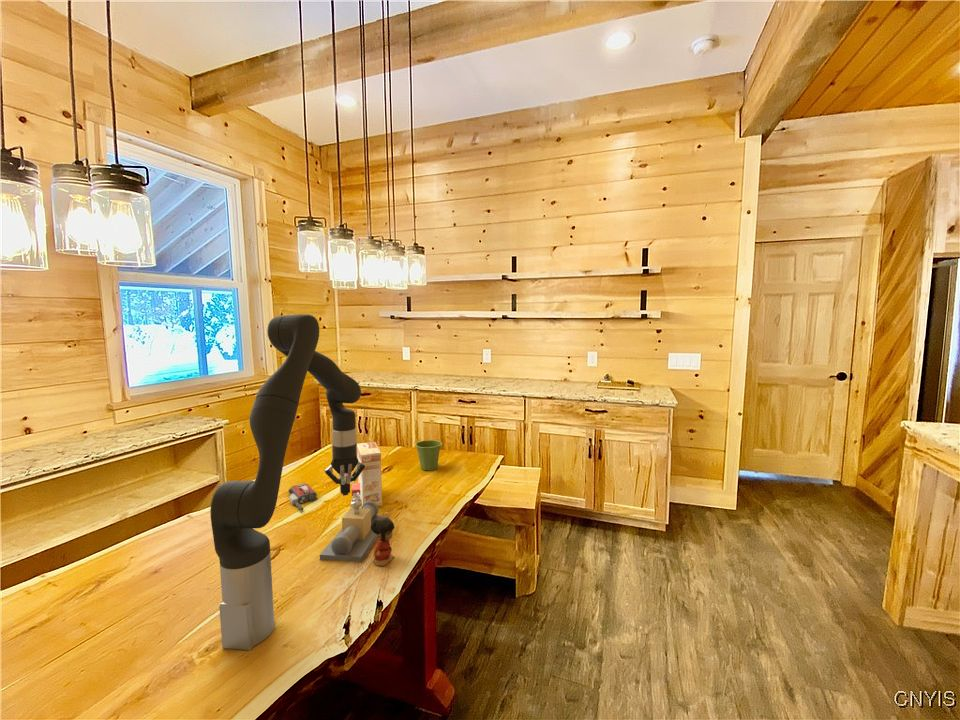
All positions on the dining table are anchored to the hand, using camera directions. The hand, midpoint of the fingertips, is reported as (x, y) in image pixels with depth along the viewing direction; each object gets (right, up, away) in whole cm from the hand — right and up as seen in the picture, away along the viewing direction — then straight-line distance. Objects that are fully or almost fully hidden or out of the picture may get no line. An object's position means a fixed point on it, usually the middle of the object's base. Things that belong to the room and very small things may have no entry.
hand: (345, 494), depth 135 cm
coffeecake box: (+3, -8, +19) cm, 21 cm away
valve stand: (+7, -11, -9) cm, 15 cm away
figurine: (+17, -12, -20) cm, 29 cm away
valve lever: (+5, 0, -4) cm, 6 cm away
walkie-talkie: (-21, -8, +18) cm, 29 cm away
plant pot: (+21, -5, +50) cm, 55 cm away
